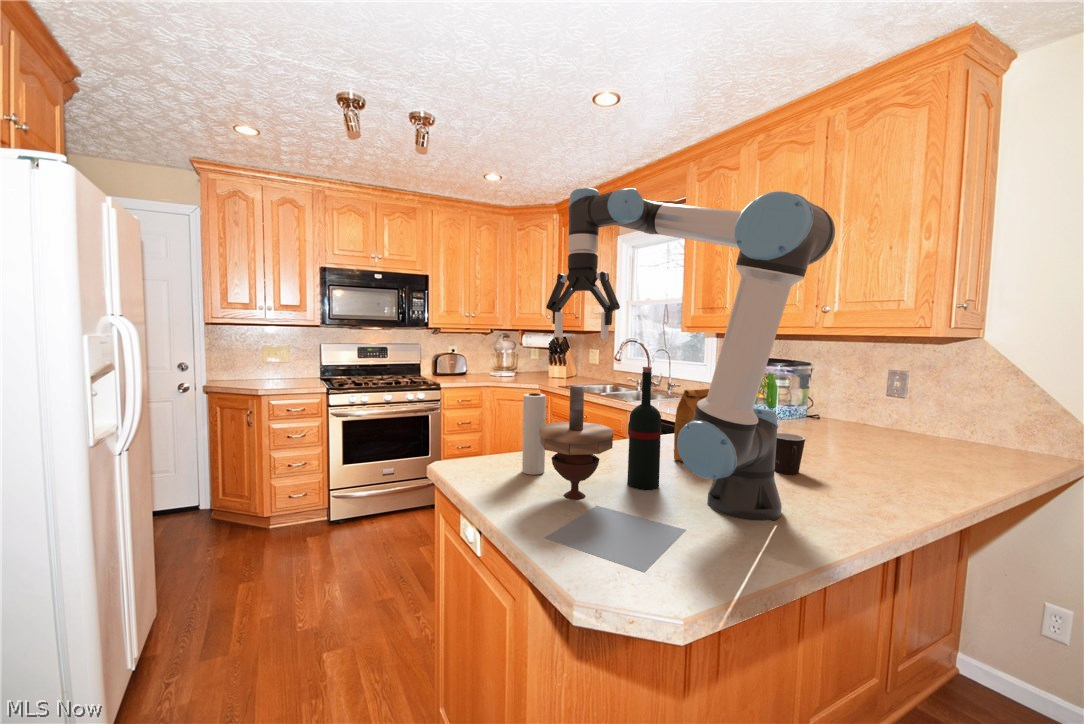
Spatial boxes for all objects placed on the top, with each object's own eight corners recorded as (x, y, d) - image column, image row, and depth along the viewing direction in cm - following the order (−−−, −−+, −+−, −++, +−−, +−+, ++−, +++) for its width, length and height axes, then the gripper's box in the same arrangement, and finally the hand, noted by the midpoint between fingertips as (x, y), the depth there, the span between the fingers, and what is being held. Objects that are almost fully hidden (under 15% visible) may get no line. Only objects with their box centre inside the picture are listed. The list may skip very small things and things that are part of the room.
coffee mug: (771, 464, 139) (773, 431, 138) (805, 470, 134) (807, 436, 133) (763, 474, 129) (765, 438, 129) (799, 481, 124) (801, 444, 124)
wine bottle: (642, 475, 127) (646, 364, 124) (665, 488, 117) (670, 368, 115) (616, 478, 124) (620, 365, 121) (638, 492, 114) (642, 368, 112)
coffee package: (725, 464, 139) (728, 390, 137) (690, 468, 134) (694, 391, 132) (701, 455, 148) (705, 385, 146) (669, 459, 143) (671, 387, 142)
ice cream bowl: (600, 507, 104) (602, 440, 103) (550, 506, 105) (551, 439, 103) (596, 490, 115) (598, 429, 114) (550, 489, 115) (551, 428, 114)
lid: (625, 444, 111) (627, 386, 110) (589, 460, 97) (590, 394, 96) (565, 433, 121) (566, 379, 119) (524, 446, 107) (524, 386, 106)
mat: (686, 532, 92) (686, 529, 92) (644, 575, 76) (644, 572, 76) (596, 507, 104) (596, 505, 104) (543, 540, 88) (543, 537, 88)
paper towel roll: (533, 476, 124) (535, 396, 123) (517, 471, 128) (518, 394, 127) (551, 471, 130) (553, 393, 128) (535, 466, 134) (537, 391, 132)
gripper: (635, 252, 115) (632, 339, 117) (550, 258, 129) (548, 336, 131) (621, 247, 109) (618, 339, 111) (534, 255, 123) (532, 336, 125)
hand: (580, 338), depth 121 cm, fingers open, 13 cm apart
